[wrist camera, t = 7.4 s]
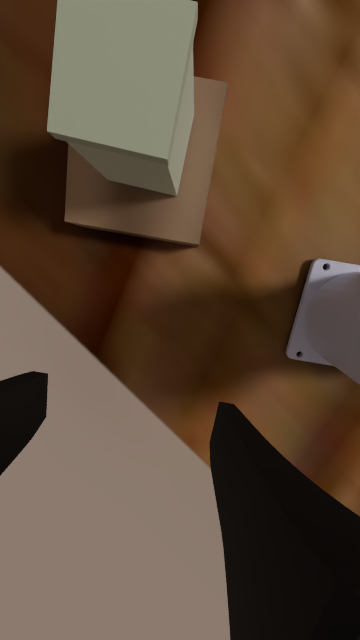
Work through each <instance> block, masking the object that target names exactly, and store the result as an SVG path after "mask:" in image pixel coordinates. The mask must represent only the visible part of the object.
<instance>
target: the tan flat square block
mask: <svg viewBox="0 0 360 640" xmlns="http://www.w3.org/2000/svg"><path fill="white" fill-rule="evenodd" d="M227 86H228V82H222V81H217V80H211V79H206V78H200V77H194V118H193V122H192V127H191V132H190V137H189V141H188V146H187V151H186V156H185V161H184V165H183V170H182V175H181V180H180V184H179V189H178V194H177V196H174V195H169V194H165V193H161V192H157V191H152V190H148V189H144V188H140V187H136V186H131V185H127V184H123V183H119V182H114V181H110V180H107V179H106V178H105V177H104V176H103V175H102V174H101V173H100V172H99V171H98V170H96V169H95V168H94V167H93V166H92V165H91V164H90V163H89V162H88V161H87V160H86V159H85V158H83V157H82V156H81V155H80V154H79V153H78V152H77V151H76V150H75V149H74V148H73V147H72V146H70V145H69V144H68V162H67V182H66V202H65V222H68V223H72V224H75V225H78V226H81V227H86V228H92V229H98V230H104V231H109V232H115V233H121V234H127V235H132V236H138V237H144V238H150V239H155V240H161V241H167V242H172V243H178V244H184V245H190V246H195V247H198V246H199V242H200V236H201V231H202V225H203V220H204V214H205V209H206V203H207V198H208V192H209V186H210V181H211V175H212V170H213V164H214V159H215V153H216V147H217V142H218V136H219V131H220V125H221V120H222V114H223V108H224V103H225V97H226V92H227Z"/></svg>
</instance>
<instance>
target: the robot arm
mask: <svg viewBox="0 0 360 640" xmlns="http://www.w3.org/2000/svg"><path fill="white" fill-rule="evenodd" d="M324 264H327V268H326V269H325V270H324V269H323V265H324ZM300 351H301V354H300V355H298V356H296V354H297V352H300ZM286 355H287V356H288V357H289V358H290V359H295V360H301V361H307V362H313V363H319V364H325V365H331V366H335V367H336V368H338V369H339V370H340V371H342V372H343V373H344V374H346V375H347V376H349V377H350V378H351V379H353V380H354V381H355V382H357V383H358V384H360V265H355V264H349V263H343V262H337V261H332V260H326V259H315V260H314V261H312V263H311V265H310V269H309V272H308V276H307V279H306V283H305V286H304V290H303V293H302V296H301V300H300V303H299V307H298V310H297V314H296V317H295V321H294V324H293V328H292V331H291V335H290V338H289V342H288V345H287V348H286ZM47 385H48V374H46V373H40V372H35V371H33V372H28V373H24V374H21V375H18V376H14V377H11V378H8V379H5V380H2V381H0V475H1V474H2V473H3V472H4V471H5V469H6V468H7V467H8V466H9V465H10V464H11V463H12V461H13V460H14V459H15V458H16V457H17V456H18V454H19V453H20V452H21V451H22V450H23V448H24V447H25V446H26V445H27V444H28V442H29V441H30V440H31V439H32V437H33V436H34V434H35V433H36V432H37V430H38V428H39V427H40V425H41V424H42V422H43V421H44V419H45V418H46V408H47ZM210 462H211V472H212V478H213V484H214V490H215V496H216V502H217V508H218V514H219V520H220V525H221V532H222V540H223V546H224V558H225V571H226V582H227V596H228V608H229V609H228V610H229V623H230V639H231V640H360V516H358V515H357V514H355V513H354V512H352V511H351V510H350V509H348V508H347V507H345V506H344V505H343V504H341V503H340V502H339V501H337V500H336V499H334V498H333V497H332V496H330V495H329V494H328V493H326V492H325V491H324V490H322V489H321V488H320V487H319V486H317V485H316V484H315V483H313V482H312V481H311V480H310V479H309V478H307V477H306V476H305V475H304V474H303V473H302V472H300V471H299V470H298V469H297V468H296V467H294V466H293V465H292V464H291V463H290V462H289V461H288V460H287V459H286V458H285V457H284V456H282V455H281V454H280V453H279V452H278V451H277V450H276V449H275V448H274V447H273V446H272V445H271V444H270V443H269V442H268V441H267V440H266V439H265V438H264V437H263V436H262V435H261V433H260V432H259V431H258V430H257V429H256V428H255V427H254V426H253V425H252V424H251V422H250V421H249V420H248V419H247V418H246V417H245V416H244V415H243V414H242V412H241V411H240V410H239V409H238V408H237V407H236V406H235V405H234V404H230V403H224V402H219V405H218V409H217V413H216V418H215V422H214V426H213V430H212V435H211V439H210Z"/></svg>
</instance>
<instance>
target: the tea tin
mask: <svg viewBox="0 0 360 640" xmlns="http://www.w3.org/2000/svg"><path fill="white" fill-rule="evenodd" d="M197 20H198V2H195V1H190V0H58V3H57V15H56V27H55V39H54V51H53V64H52V76H51V88H50V100H49V112H48V124H47V132H49V133H50V134H51V135H52V136H53V137H54V138H55V139H59V140H63V141H66V142H67V143H68V144H69V145H70V146H72V147H73V148H74V149H75V150H76V151H77V152H78V153H79V154H80V155H81V156H82V157H83V158H85V159H86V160H87V161H88V162H89V163H90V164H91V165H92V166H93V167H94V168H95V169H96V170H98V171H99V172H100V173H101V174H102V175H103V176H104V177H105V178H106V179H107V180H110V181H114V182H119V183H123V184H127V185H131V186H136V187H140V188H144V189H148V190H152V191H157V192H161V193H165V194H169V195H174V196H177V194H178V189H179V184H180V180H181V175H182V170H183V165H184V161H185V156H186V151H187V146H188V141H189V137H190V132H191V127H192V122H193V118H194V76H193V40H194V35H195V30H196V25H197Z"/></svg>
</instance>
